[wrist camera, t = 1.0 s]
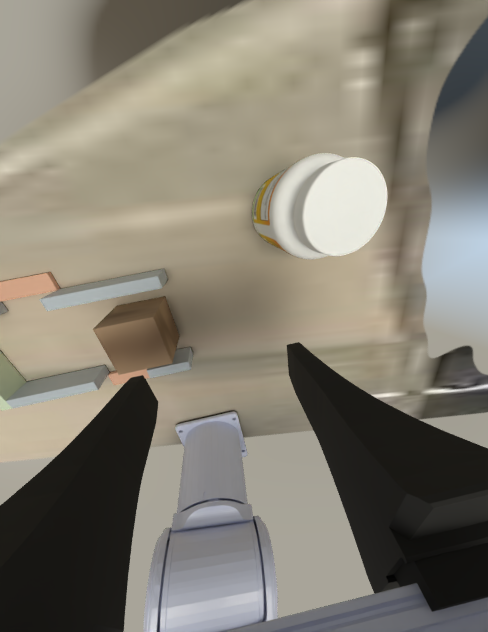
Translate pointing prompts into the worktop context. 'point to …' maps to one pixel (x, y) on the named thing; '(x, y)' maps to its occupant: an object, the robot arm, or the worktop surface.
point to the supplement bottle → (321, 206)
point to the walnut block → (139, 335)
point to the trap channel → (3, 379)
